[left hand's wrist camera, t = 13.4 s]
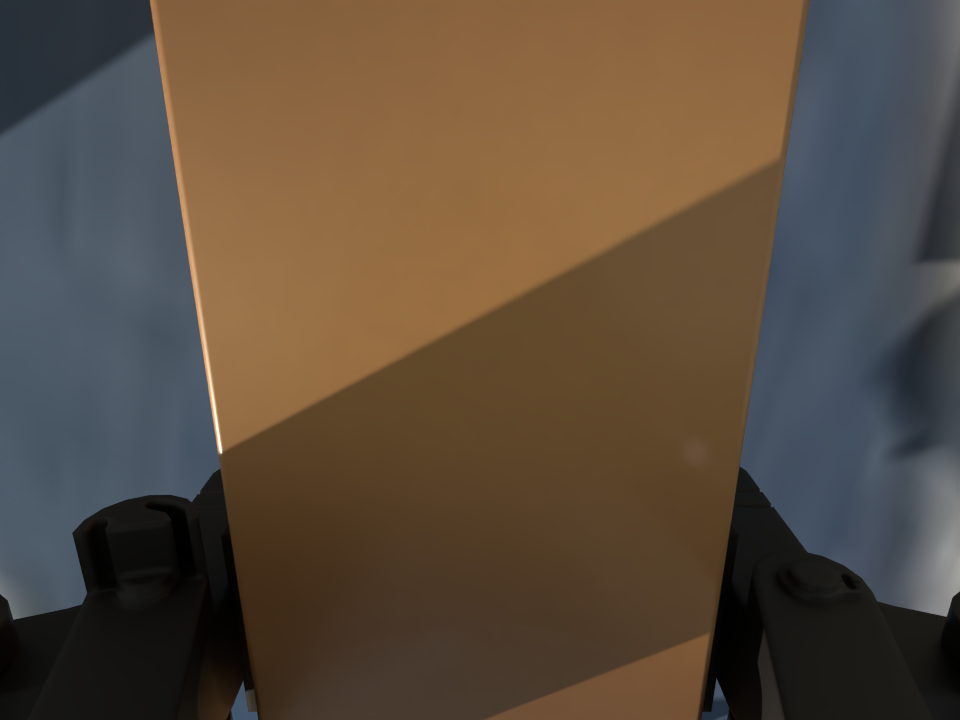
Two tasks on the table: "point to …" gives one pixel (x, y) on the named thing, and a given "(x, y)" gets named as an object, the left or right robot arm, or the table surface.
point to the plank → (479, 336)
